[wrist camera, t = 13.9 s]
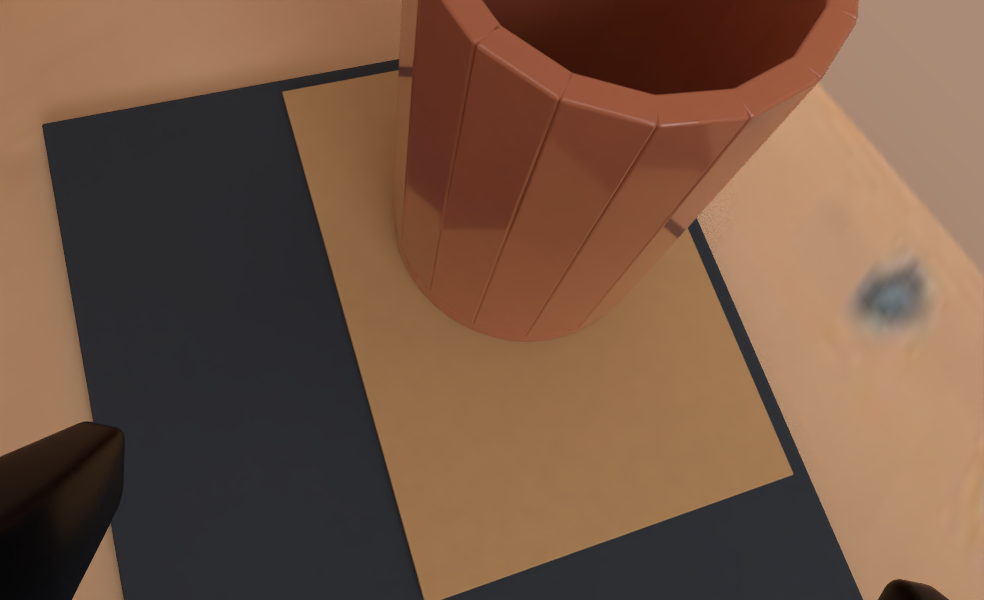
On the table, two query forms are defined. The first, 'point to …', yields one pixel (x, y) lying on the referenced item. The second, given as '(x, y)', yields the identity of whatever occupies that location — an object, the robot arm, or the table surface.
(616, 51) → the cup
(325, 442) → the desk mat
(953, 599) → the table surface
